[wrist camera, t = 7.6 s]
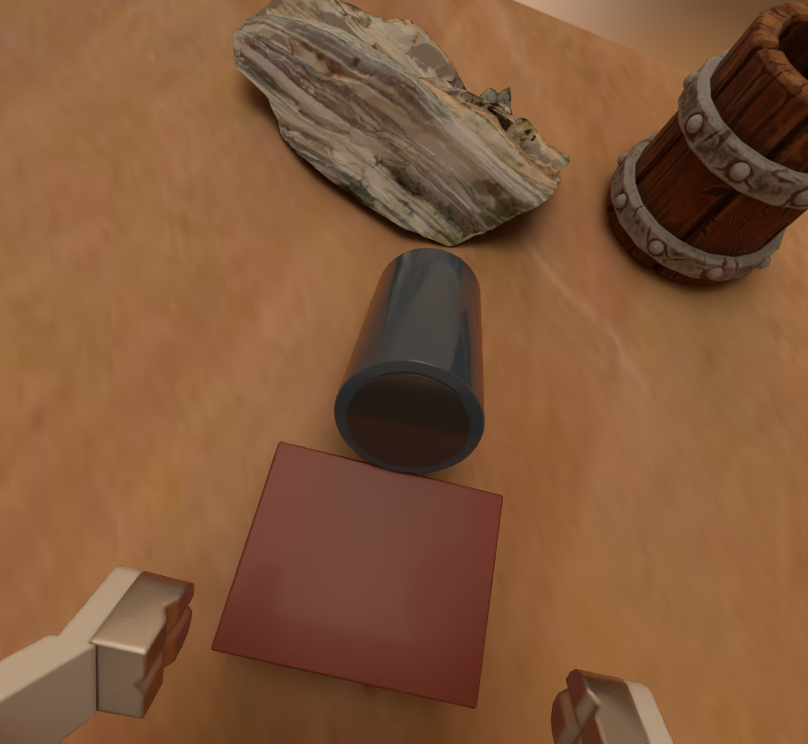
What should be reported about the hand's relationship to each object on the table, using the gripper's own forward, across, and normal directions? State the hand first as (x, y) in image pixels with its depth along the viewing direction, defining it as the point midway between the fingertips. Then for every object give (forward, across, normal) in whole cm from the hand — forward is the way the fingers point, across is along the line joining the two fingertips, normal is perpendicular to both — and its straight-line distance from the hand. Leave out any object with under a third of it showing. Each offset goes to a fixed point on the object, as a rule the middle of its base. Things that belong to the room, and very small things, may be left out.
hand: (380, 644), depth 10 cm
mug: (+30, -17, -12) cm, 36 cm away
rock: (+30, +4, -12) cm, 33 cm away
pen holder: (+18, 0, -3) cm, 18 cm away
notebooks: (+10, 0, +8) cm, 13 cm away
